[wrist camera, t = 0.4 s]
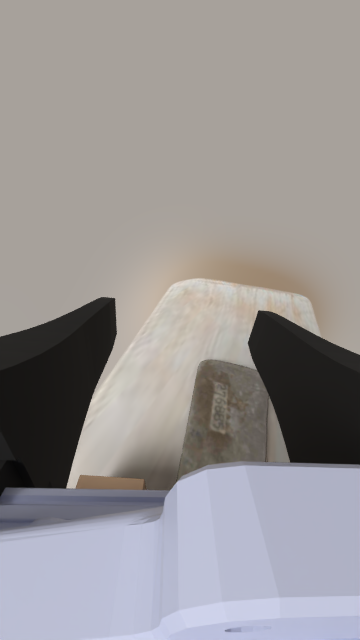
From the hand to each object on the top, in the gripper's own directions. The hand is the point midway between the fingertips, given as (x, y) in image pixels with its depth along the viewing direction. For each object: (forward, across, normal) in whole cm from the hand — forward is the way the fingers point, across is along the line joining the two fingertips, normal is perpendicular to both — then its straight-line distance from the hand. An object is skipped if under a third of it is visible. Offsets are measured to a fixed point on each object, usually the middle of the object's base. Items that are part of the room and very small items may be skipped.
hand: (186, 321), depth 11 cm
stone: (+7, -8, +19) cm, 21 cm away
